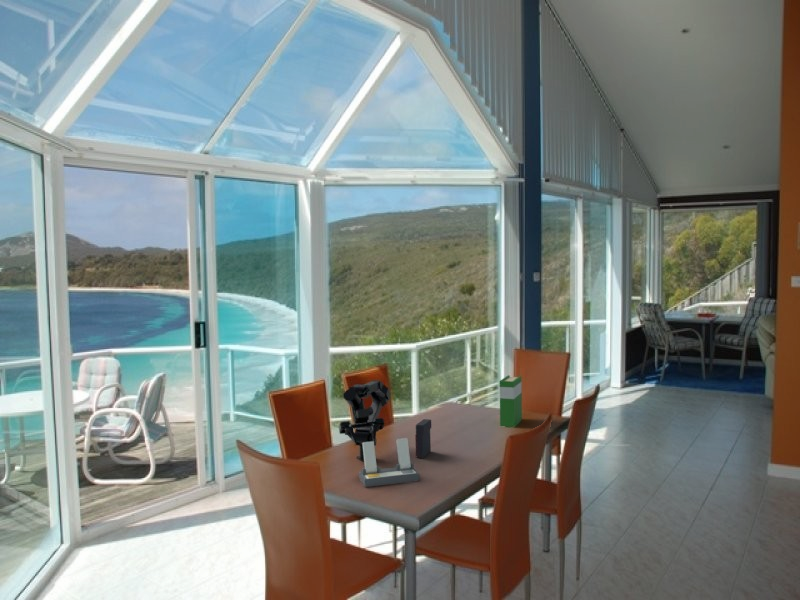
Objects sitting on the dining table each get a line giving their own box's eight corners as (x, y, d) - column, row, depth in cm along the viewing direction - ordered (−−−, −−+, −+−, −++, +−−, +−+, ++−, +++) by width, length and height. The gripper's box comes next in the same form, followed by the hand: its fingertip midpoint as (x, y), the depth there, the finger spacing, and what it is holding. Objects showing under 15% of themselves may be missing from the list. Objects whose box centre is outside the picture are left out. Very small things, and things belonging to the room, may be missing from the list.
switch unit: (359, 478, 255) (359, 465, 254) (411, 472, 260) (411, 459, 260) (364, 487, 245) (364, 473, 245) (419, 480, 251) (418, 467, 250)
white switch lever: (365, 473, 251) (362, 443, 255) (376, 472, 253) (372, 441, 257) (366, 472, 250) (363, 442, 254) (377, 471, 251) (373, 441, 255)
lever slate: (399, 469, 255) (395, 439, 259) (409, 468, 256) (406, 438, 260) (400, 469, 253) (397, 438, 257) (411, 468, 255) (407, 437, 258)
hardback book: (508, 418, 347) (507, 375, 345) (521, 419, 344) (521, 376, 342) (500, 426, 330) (499, 381, 329) (514, 427, 327) (513, 381, 326)
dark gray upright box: (423, 450, 291) (422, 418, 290) (432, 451, 289) (431, 419, 288) (414, 457, 280) (414, 424, 279) (424, 458, 279) (423, 425, 278)
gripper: (339, 402, 262) (345, 436, 252) (382, 398, 267) (390, 431, 257) (336, 417, 270) (342, 449, 260) (378, 412, 275) (386, 444, 265)
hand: (365, 443), depth 261 cm, fingers open, 7 cm apart
